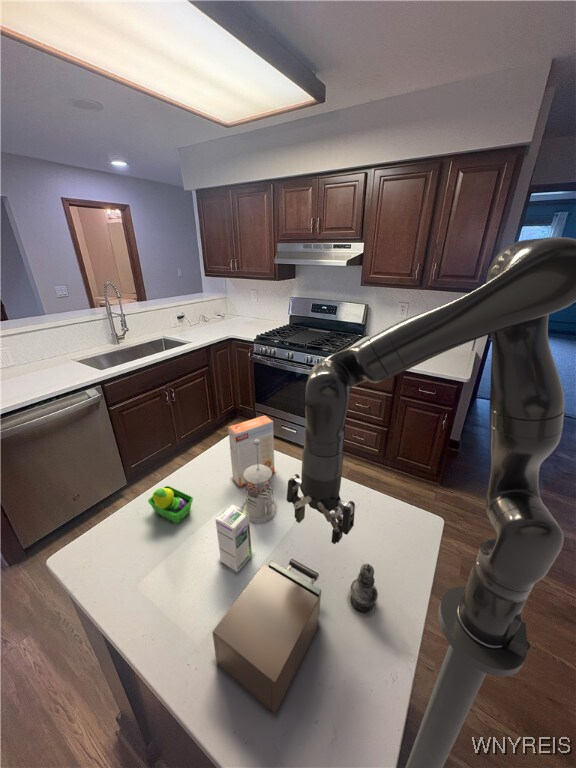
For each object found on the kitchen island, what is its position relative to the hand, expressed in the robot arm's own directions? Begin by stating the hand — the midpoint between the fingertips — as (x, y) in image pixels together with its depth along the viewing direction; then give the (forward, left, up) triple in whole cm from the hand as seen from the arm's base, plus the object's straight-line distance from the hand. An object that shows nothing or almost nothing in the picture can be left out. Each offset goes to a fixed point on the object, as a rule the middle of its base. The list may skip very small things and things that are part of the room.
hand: (317, 529), depth 64 cm
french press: (+25, -13, -20) cm, 34 cm away
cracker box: (+37, -25, -20) cm, 48 cm away
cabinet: (+3, +14, -19) cm, 24 cm away
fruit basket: (+47, +2, -20) cm, 51 cm away
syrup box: (+21, +3, -20) cm, 29 cm away
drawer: (+3, +9, -18) cm, 21 cm away
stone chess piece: (-10, -4, -20) cm, 23 cm away
